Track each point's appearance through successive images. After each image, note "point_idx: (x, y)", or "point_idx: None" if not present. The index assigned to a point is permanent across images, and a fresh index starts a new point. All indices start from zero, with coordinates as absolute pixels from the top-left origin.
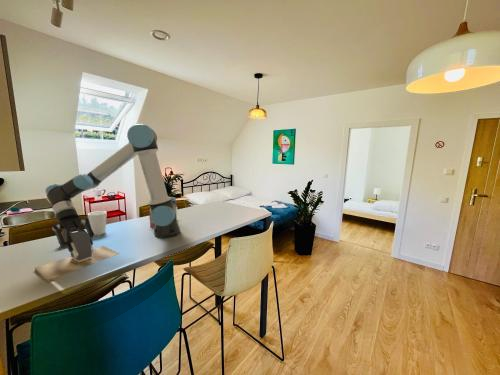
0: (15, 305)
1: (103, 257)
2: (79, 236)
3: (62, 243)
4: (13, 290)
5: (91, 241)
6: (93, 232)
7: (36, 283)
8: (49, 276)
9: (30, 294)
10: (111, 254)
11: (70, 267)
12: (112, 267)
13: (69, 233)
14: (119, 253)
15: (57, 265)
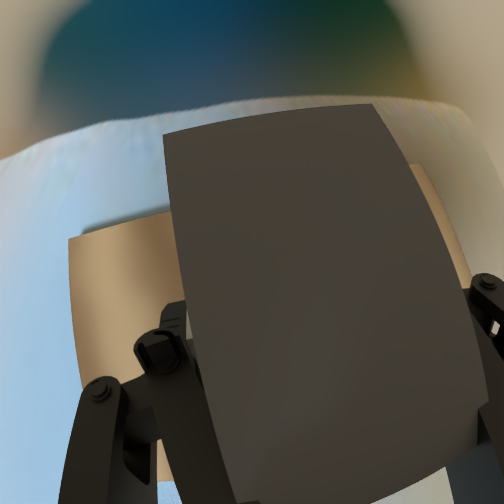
0: (451, 109)
1: (154, 245)
2: (330, 116)
3: (485, 275)
4: (498, 206)
5: (167, 326)
6: (73, 424)
7: (455, 203)
8: (427, 193)
9: (442, 135)
10: (103, 261)
11: None
12: (163, 131)
13: (491, 412)
14: (70, 240)
15: None
